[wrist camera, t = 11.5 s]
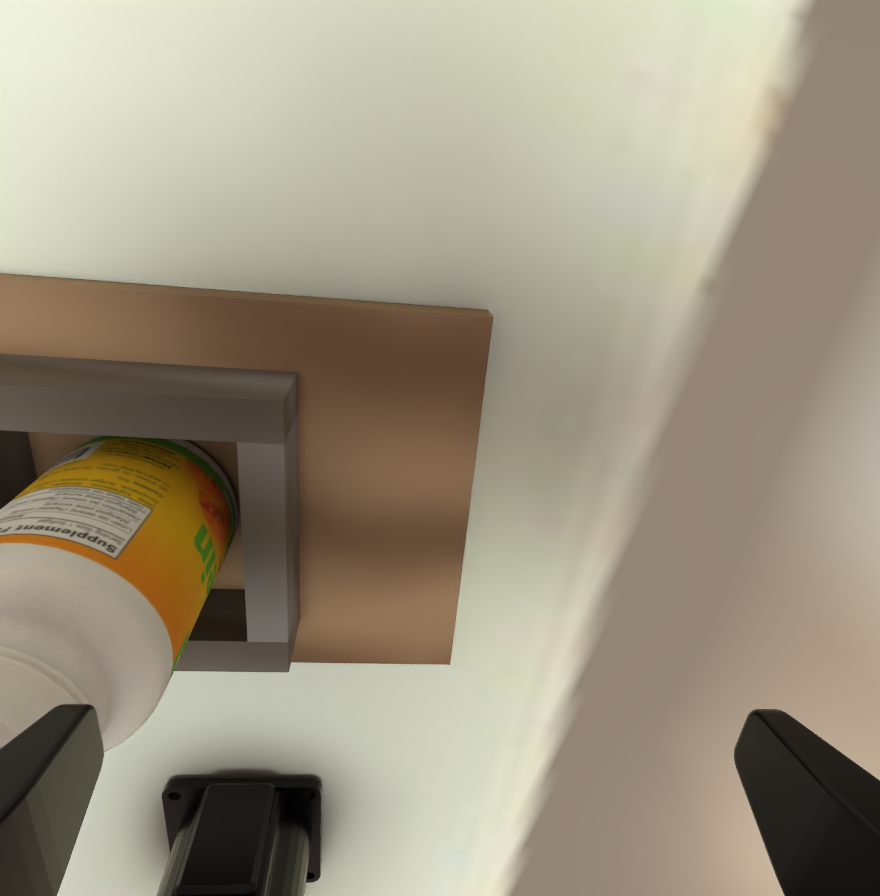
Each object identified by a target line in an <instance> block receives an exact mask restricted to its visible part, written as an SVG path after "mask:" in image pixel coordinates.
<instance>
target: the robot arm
mask: <svg viewBox="0 0 880 896" xmlns="http://www.w3.org/2000/svg"><path fill="white" fill-rule="evenodd" d="M103 757H104V746H103V741H102V736H101V731H100V726H99V721H98V716H97V712H96V709H95V708H94V706H92V705H90V704H61V705H58V706H56V707H54V708H53V709H51V710H50V711H49V712H47V713H46V714H45V715H43V716H42V717H41V718H39V719H38V720H37V721H36V722H34V723H33V724H32V725H30V726H29V727H28V728H26V729H25V730H24V731H23V732H21V733H20V734H19V735H17V736H16V737H15V738H13V739H12V740H11V741H10V742H8V743H7V744H6V745H4V746H3V747H2V748H0V896H57V893H58V890H59V888H60V885H61V882H62V880H63V877H64V874H65V871H66V868H67V865H68V862H69V860H70V857H71V854H72V851H73V848H74V845H75V842H76V839H77V836H78V834H79V831H80V828H81V825H82V822H83V819H84V816H85V813H86V810H87V808H88V805H89V802H90V799H91V796H92V793H93V790H94V787H95V785H96V782H97V779H98V776H99V773H100V770H101V767H102V763H103ZM734 760H735V765H736V768H737V771H738V774H739V777H740V779H741V782H742V785H743V788H744V790H745V793H746V795H747V798H748V801H749V804H750V807H751V809H752V812H753V815H754V818H755V820H756V823H757V826H758V829H759V831H760V834H761V837H762V839H763V842H764V845H765V848H766V850H767V853H768V856H769V859H770V861H771V863H772V866H773V869H774V871H775V874H776V876H777V879H778V881H779V884H780V886H781V888H782V891H783V893H784V895H785V896H880V780H878V779H877V778H875V777H874V776H873V775H871V774H870V773H869V772H867V771H866V770H864V769H863V768H861V767H860V766H859V765H857V764H856V763H855V762H853V761H852V760H850V759H849V758H848V757H846V756H845V755H844V754H842V753H841V752H840V751H838V750H837V749H835V748H834V747H833V746H831V745H830V744H828V743H827V742H826V741H824V740H823V739H821V738H820V737H819V736H817V735H816V734H814V733H813V732H812V731H810V730H809V729H808V728H806V727H805V726H804V725H802V724H801V723H799V722H798V721H797V720H795V719H794V718H793V717H791V716H790V715H788V714H787V713H785V712H783V711H781V710H776V709H755V710H753V711H751V712H750V713H749V714H748V716H747V719H746V721H745V723H744V726H743V728H742V731H741V733H740V736H739V738H738V741H737V743H736V746H735V750H734ZM162 800H163V807H164V813H165V820H166V827H167V833H168V840H169V847H170V856H169V859H168V862H167V865H166V868H165V871H164V874H163V877H162V880H161V883H160V886H159V889H158V892H157V895H156V896H304V893H305V885H306V883H309V882H314V881H317V880H318V879H319V878H320V873H321V843H322V784H321V783H320V782H319V781H318V780H316V779H175V780H171V781H169V782H167V784H166V785H165V788H164V791H163V793H162Z"/></svg>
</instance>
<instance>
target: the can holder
mask: <svg viewBox="0 0 880 896" xmlns="http://www.w3.org/2000/svg"><path fill="white" fill-rule="evenodd" d="M492 320H493V317H492V315H491V314H490V313H489V311H488V310H476V309H463V308H450V307H437V306H423V305H410V304H397V303H384V302H371V301H357V300H344V299H331V298H318V297H305V296H291V295H278V294H265V293H252V292H239V291H225V290H212V289H199V288H186V287H173V286H159V285H146V284H133V283H120V282H107V281H93V280H80V279H67V278H54V277H41V276H27V275H14V274H1V273H0V509H2V508H3V507H4V506H5V505H7V504H8V503H9V502H10V501H11V500H13V499H14V498H15V497H16V496H18V495H19V494H20V493H21V492H22V491H24V490H25V489H26V488H27V487H28V486H30V485H31V484H32V483H33V482H34V481H36V480H37V479H38V478H39V477H40V476H42V475H43V474H44V473H45V472H47V471H48V470H49V469H50V468H51V467H53V466H54V465H55V464H56V463H57V462H58V461H60V460H61V459H62V458H63V457H65V456H66V455H67V454H69V453H70V452H71V451H73V450H74V449H75V448H77V447H78V446H79V445H81V444H82V443H84V442H85V441H87V440H89V439H91V438H93V437H95V436H98V435H104V436H123V437H143V438H163V439H182V440H186V441H188V442H190V443H191V444H193V445H195V446H197V447H198V448H199V449H201V450H202V451H204V452H205V453H206V454H207V455H208V456H209V457H211V458H212V459H213V460H214V461H215V462H216V464H217V465H218V466H219V467H220V468H221V470H222V471H223V472H224V474H225V475H226V477H227V479H228V480H229V482H230V484H231V486H232V489H233V491H234V494H235V497H236V502H237V509H238V521H237V528H236V532H235V535H234V538H233V541H232V543H231V546H230V548H229V550H228V553H227V555H226V557H225V559H224V561H223V563H222V566H221V568H220V570H219V572H218V575H217V577H216V579H215V581H214V583H213V585H212V588H211V590H210V592H209V594H208V596H207V598H206V600H205V603H204V605H203V607H202V609H201V611H200V614H199V616H198V618H197V620H196V623H195V625H194V627H193V629H192V632H191V634H190V636H189V638H188V641H187V643H186V645H185V647H184V649H183V652H182V654H181V656H180V658H179V661H178V663H177V665H176V667H175V669H174V671H227V672H289V668H290V664H291V662H312V663H380V664H448V665H450V660H451V652H452V644H453V636H454V628H455V620H456V612H457V604H458V595H459V587H460V579H461V571H462V563H463V555H464V547H465V539H466V531H467V523H468V515H469V506H470V498H471V490H472V482H473V474H474V466H475V458H476V450H477V442H478V434H479V426H480V418H481V409H482V401H483V393H484V385H485V377H486V369H487V361H488V353H489V345H490V337H491V329H492Z"/></svg>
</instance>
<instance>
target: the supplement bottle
mask: <svg viewBox="0 0 880 896" xmlns="http://www.w3.org/2000/svg"><path fill="white" fill-rule="evenodd" d="M237 521H238V509H237V502H236V497H235V494H234V491H233V489H232V486H231V484H230V482H229V480H228V479H227V477H226V475H225V474H224V472H223V471H222V470H221V468H220V467H219V466H218V465H217V464H216V462H215V461H214V460H213V459H212V458H211V457H209V456H208V455H207V454H206V453H205V452H204V451H202V450H201V449H199V448H198V447H197V446H195V445H193V444H191V443H190V442H188V441H186V440H182V439H163V438H143V437H123V436H104V435H98V436H95V437H93V438H91V439H89V440H87V441H85V442H84V443H82V444H81V445H79V446H78V447H77V448H75V449H74V450H73V451H71V452H70V453H69V454H67V455H66V456H65V457H63V458H62V459H61V460H60V461H58V462H57V463H56V464H55V465H54V466H53V467H51V468H50V469H49V470H48V471H47V472H45V473H44V474H43V475H42V476H40V477H39V478H38V479H37V480H36V481H34V482H33V483H32V484H31V485H30V486H28V487H27V488H26V489H25V490H24V491H22V492H21V493H20V494H19V495H18V496H16V497H15V498H14V499H13V500H11V501H10V502H9V503H8V504H7V505H5V506H4V507H3V508H2V509H0V748H2V747H3V746H4V745H6V744H7V743H8V742H10V741H11V740H12V739H13V738H15V737H16V736H17V735H19V734H20V733H21V732H23V731H24V730H25V729H26V728H28V727H29V726H30V725H32V724H33V723H34V722H36V721H37V720H38V719H39V718H41V717H42V716H43V715H45V714H46V713H47V712H49V711H50V710H51V709H53V708H54V707H56V706H58V705H61V704H90V705H92V706H94V708H95V709H96V712H97V716H98V721H99V726H100V731H101V736H102V741H103V746H104V752H105V751H107V750H109V749H111V748H113V747H115V746H117V745H118V744H120V743H122V742H123V741H125V740H126V739H127V738H128V737H130V736H131V735H132V734H133V733H134V732H136V731H137V730H138V729H139V728H140V727H141V726H142V725H143V724H144V723H145V722H146V720H147V719H148V718H149V716H150V715H151V714H152V713H153V711H154V709H155V708H156V706H157V704H158V702H159V701H160V699H161V697H162V695H163V693H164V691H165V689H166V687H167V685H168V683H169V680H170V678H171V676H172V674H173V671H174V669H175V667H176V665H177V663H178V661H179V658H180V656H181V654H182V652H183V649H184V647H185V645H186V643H187V641H188V638H189V636H190V634H191V632H192V629H193V627H194V625H195V623H196V620H197V618H198V616H199V614H200V611H201V609H202V607H203V605H204V603H205V600H206V598H207V596H208V594H209V592H210V590H211V588H212V585H213V583H214V581H215V579H216V577H217V575H218V572H219V570H220V568H221V566H222V563H223V561H224V559H225V557H226V555H227V553H228V550H229V548H230V546H231V543H232V541H233V538H234V535H235V532H236V528H237Z"/></svg>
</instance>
